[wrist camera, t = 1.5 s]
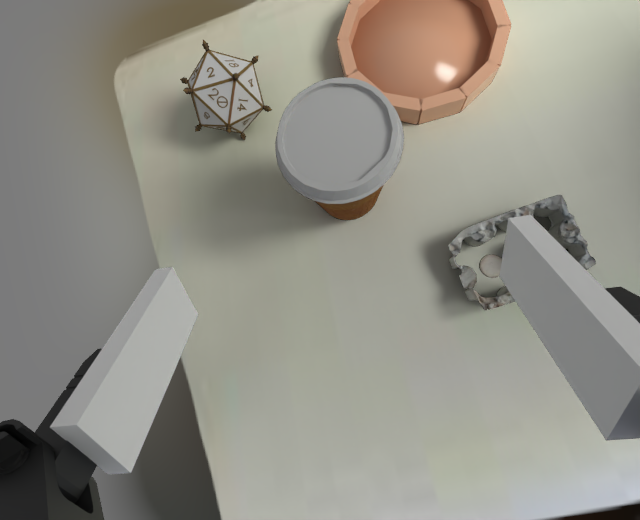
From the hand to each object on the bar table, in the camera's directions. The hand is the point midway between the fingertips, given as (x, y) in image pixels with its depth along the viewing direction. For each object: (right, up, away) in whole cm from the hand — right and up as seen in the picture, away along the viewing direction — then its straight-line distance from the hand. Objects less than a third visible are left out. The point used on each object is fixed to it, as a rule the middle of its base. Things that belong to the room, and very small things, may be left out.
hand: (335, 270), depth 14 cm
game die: (-10, +17, +25) cm, 32 cm away
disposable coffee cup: (+2, +8, +22) cm, 24 cm away
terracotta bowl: (+10, +23, +23) cm, 34 cm away
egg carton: (+17, +1, +19) cm, 26 cm away
